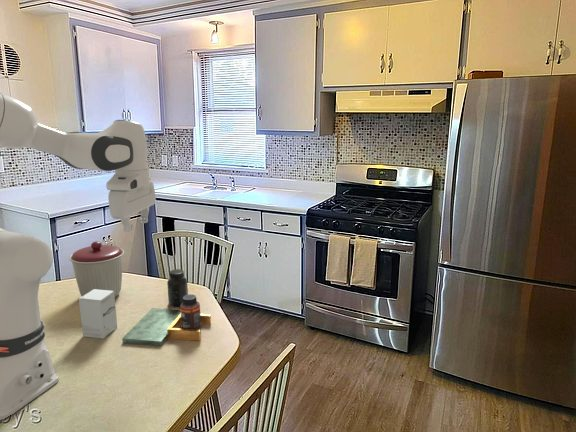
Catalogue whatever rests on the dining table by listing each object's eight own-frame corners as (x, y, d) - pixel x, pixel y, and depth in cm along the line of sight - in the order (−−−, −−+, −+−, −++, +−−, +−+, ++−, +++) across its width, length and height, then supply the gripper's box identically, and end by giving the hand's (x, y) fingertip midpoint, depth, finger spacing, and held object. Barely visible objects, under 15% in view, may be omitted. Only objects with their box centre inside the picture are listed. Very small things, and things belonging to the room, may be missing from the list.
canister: (62, 303, 149) (55, 246, 144) (98, 284, 166) (93, 232, 161) (105, 310, 144) (99, 252, 139) (137, 289, 161) (133, 237, 156)
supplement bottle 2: (203, 326, 135) (202, 293, 132) (197, 335, 129) (196, 301, 126) (185, 325, 135) (183, 292, 132) (178, 334, 129) (177, 300, 127)
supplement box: (104, 339, 126) (99, 300, 123) (82, 336, 128) (77, 298, 125) (118, 327, 133) (114, 290, 130) (97, 324, 135) (93, 288, 132)
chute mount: (194, 348, 122) (194, 339, 121) (122, 342, 124) (121, 333, 124) (215, 316, 141) (214, 308, 140) (152, 311, 144) (152, 303, 143)
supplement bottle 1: (178, 297, 155) (176, 266, 152) (192, 301, 152) (190, 270, 149) (164, 304, 149) (162, 272, 146) (178, 309, 146) (176, 276, 143)
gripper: (139, 173, 129) (142, 217, 132) (102, 184, 109) (107, 236, 112) (159, 174, 128) (162, 218, 131) (125, 185, 108) (129, 237, 111)
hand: (136, 226), depth 121 cm, fingers open, 8 cm apart
